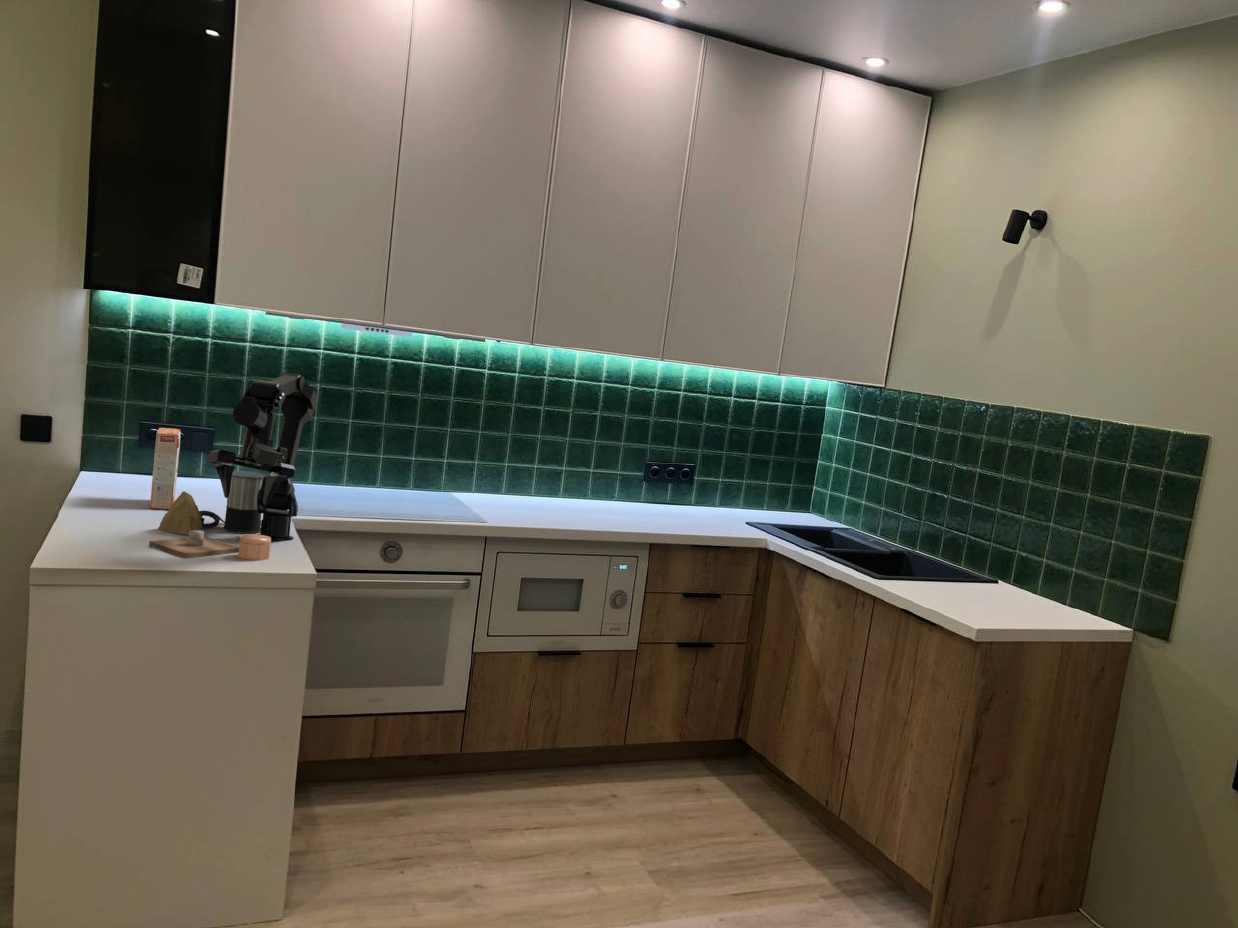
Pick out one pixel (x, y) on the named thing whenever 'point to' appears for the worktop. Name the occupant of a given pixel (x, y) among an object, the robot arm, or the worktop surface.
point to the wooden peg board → (194, 545)
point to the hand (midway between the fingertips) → (245, 501)
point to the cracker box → (165, 468)
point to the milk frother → (240, 504)
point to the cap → (254, 547)
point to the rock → (182, 516)
